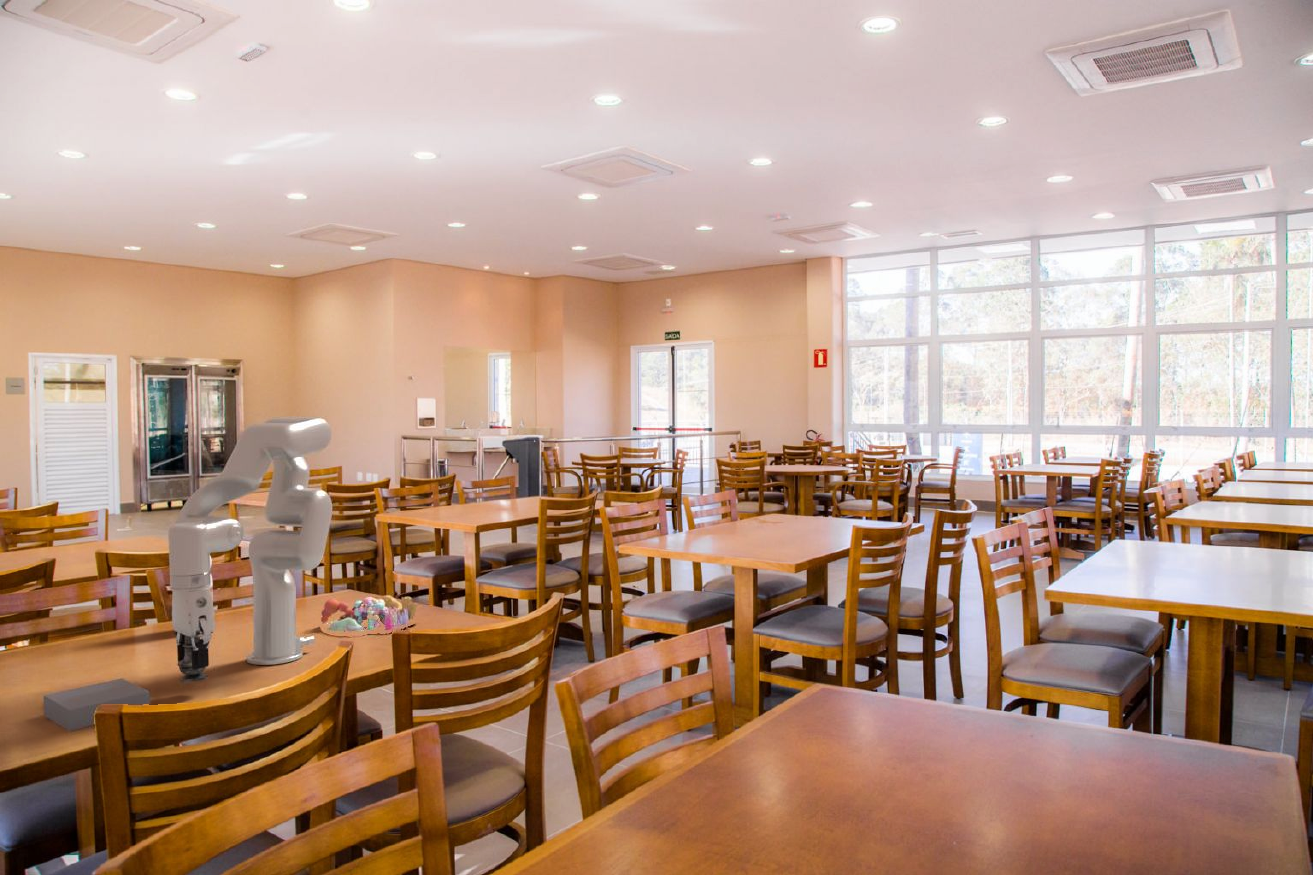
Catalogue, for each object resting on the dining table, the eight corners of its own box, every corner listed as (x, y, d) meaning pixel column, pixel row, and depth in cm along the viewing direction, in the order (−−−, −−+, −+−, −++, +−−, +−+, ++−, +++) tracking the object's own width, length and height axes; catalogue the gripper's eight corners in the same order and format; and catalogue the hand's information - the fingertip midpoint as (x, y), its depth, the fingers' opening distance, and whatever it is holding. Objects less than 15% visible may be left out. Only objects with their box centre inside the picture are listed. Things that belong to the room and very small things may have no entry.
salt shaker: (195, 683, 177) (193, 627, 176) (171, 681, 178) (169, 625, 177) (215, 674, 183) (213, 619, 182) (191, 672, 184) (190, 618, 183)
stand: (122, 697, 179) (121, 678, 179) (150, 711, 170) (149, 691, 170) (43, 715, 168) (43, 695, 168) (69, 731, 159) (69, 710, 159)
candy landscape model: (381, 614, 258) (381, 584, 258) (432, 625, 244) (432, 593, 244) (306, 630, 238) (305, 597, 238) (356, 644, 224) (356, 609, 224)
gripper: (227, 583, 177) (230, 668, 178) (190, 572, 187) (193, 652, 188) (190, 590, 171) (193, 677, 172) (153, 578, 182) (156, 661, 183)
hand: (193, 663), depth 180 cm, fingers closed on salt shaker, 5 cm apart
